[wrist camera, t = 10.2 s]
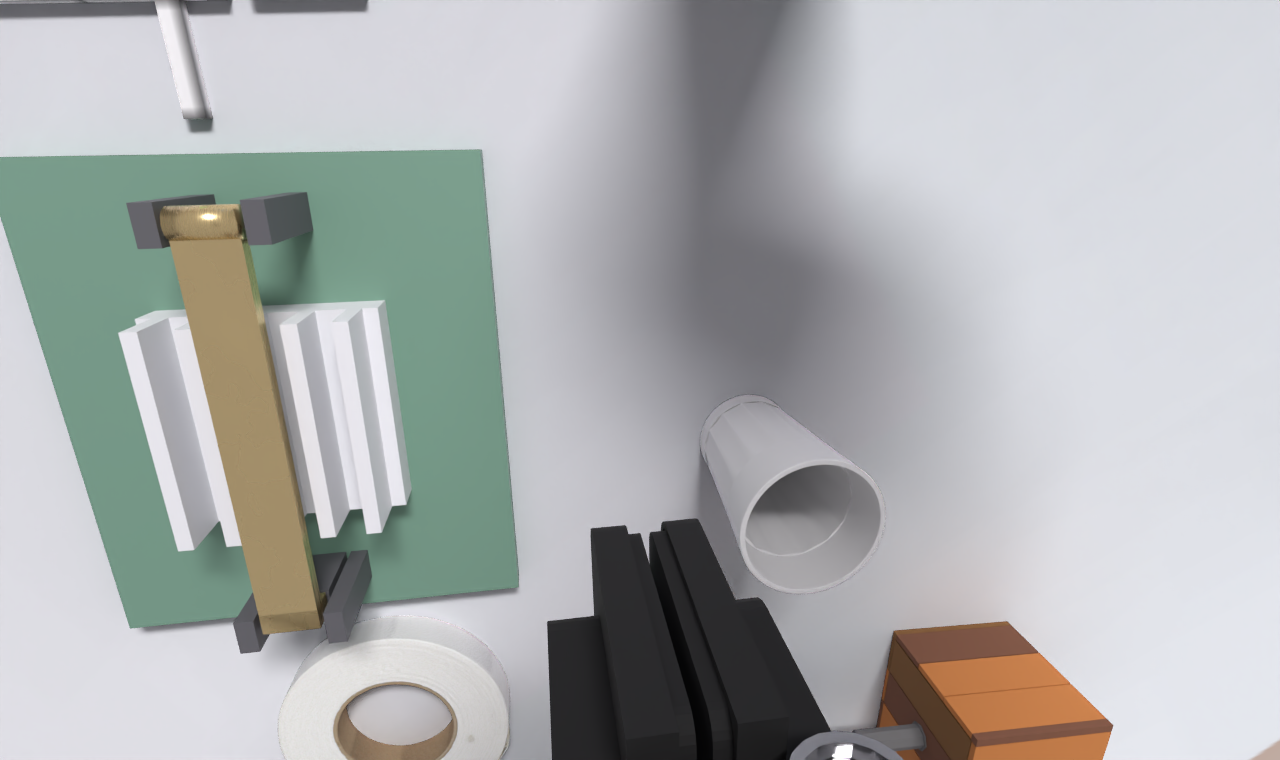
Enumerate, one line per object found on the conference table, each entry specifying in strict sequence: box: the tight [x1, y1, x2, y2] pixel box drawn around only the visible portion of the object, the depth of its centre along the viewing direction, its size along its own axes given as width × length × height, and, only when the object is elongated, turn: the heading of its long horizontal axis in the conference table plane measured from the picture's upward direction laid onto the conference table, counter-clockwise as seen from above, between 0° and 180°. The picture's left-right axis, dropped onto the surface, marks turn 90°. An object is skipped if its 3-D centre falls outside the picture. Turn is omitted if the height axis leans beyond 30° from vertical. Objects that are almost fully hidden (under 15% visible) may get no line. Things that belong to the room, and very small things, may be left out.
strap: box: [160, 204, 328, 635], centre depth 34 cm, size 23×3×2 cm, turn 1°
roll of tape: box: [278, 616, 510, 760], centre depth 48 cm, size 16×15×3 cm
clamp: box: [852, 621, 1113, 760], centre depth 49 cm, size 11×20×14 cm, turn 88°
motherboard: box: [0, 150, 519, 654], centre depth 37 cm, size 28×24×8 cm
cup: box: [700, 395, 886, 594], centre depth 40 cm, size 8×8×12 cm
